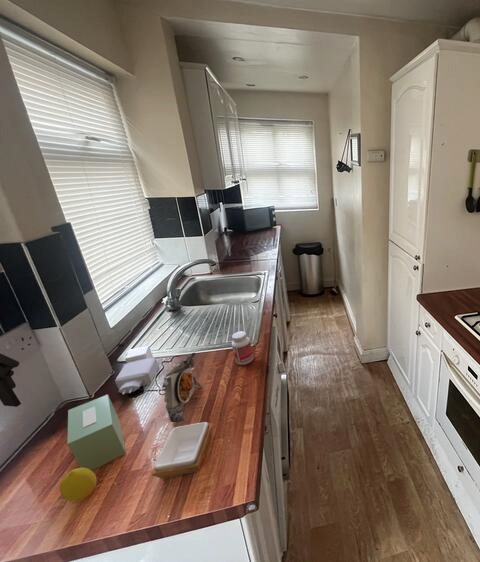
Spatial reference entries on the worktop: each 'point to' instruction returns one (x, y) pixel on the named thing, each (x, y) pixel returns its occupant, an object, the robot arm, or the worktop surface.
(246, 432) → the worktop surface
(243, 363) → the pill bottle
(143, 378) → the charger
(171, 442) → the soap dish
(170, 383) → the meal
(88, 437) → the tissue box
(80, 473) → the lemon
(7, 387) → the robot arm
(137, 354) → the white cube
